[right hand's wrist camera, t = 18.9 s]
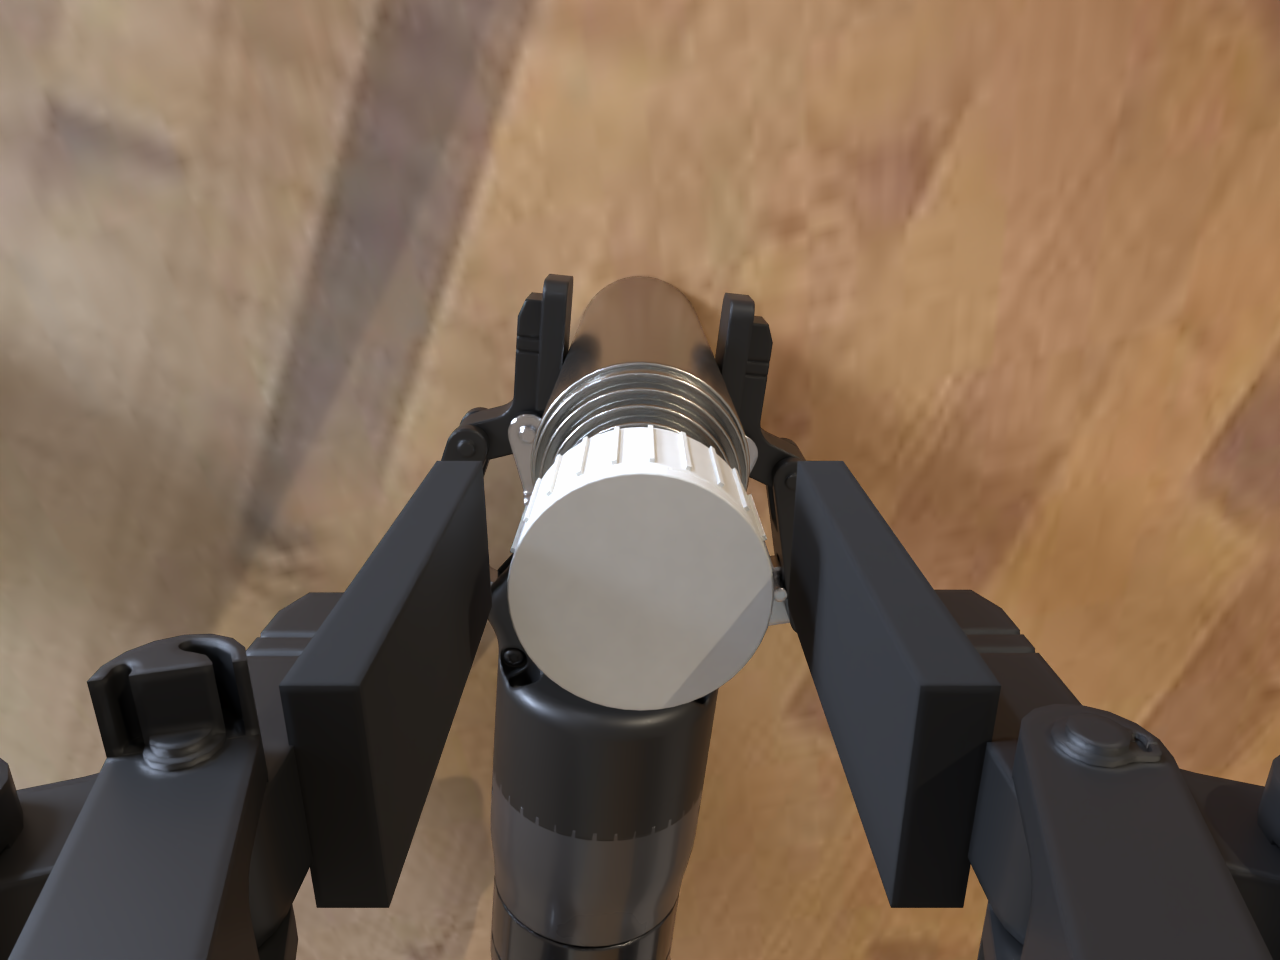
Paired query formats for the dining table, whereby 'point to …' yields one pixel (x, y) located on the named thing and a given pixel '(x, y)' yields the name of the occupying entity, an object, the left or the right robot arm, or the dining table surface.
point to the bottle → (640, 377)
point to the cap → (640, 571)
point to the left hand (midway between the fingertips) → (648, 290)
